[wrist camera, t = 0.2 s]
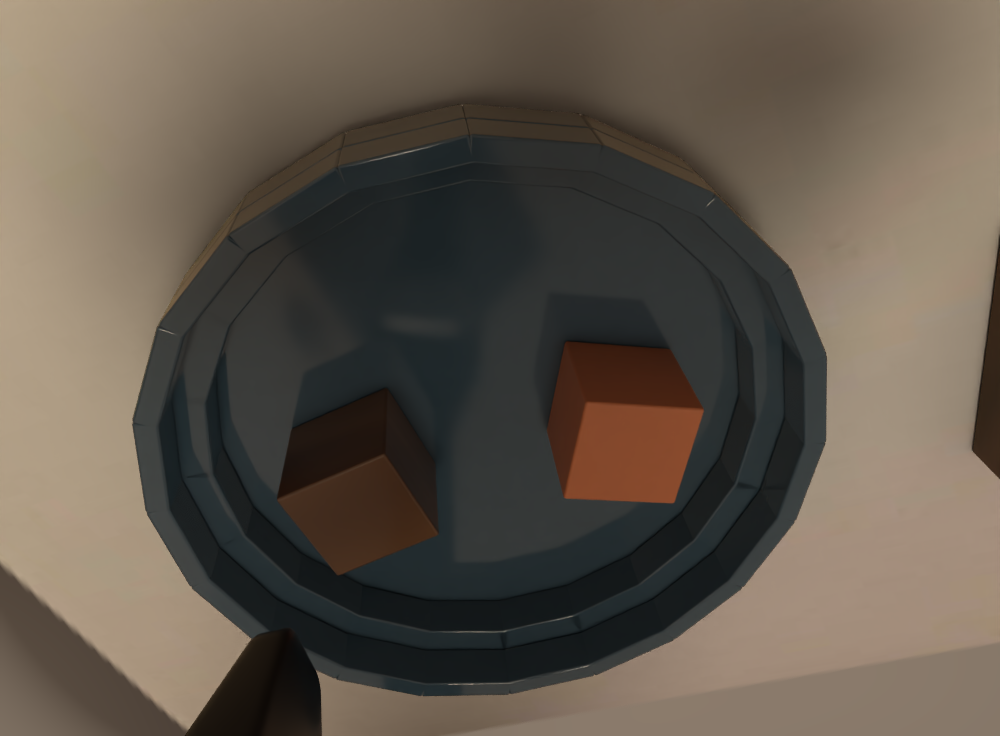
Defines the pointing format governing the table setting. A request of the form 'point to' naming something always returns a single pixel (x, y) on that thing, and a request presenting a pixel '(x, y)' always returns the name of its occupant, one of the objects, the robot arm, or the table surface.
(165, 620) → the table surface
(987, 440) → the stick
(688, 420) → the block
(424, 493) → the block
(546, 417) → the bowl
